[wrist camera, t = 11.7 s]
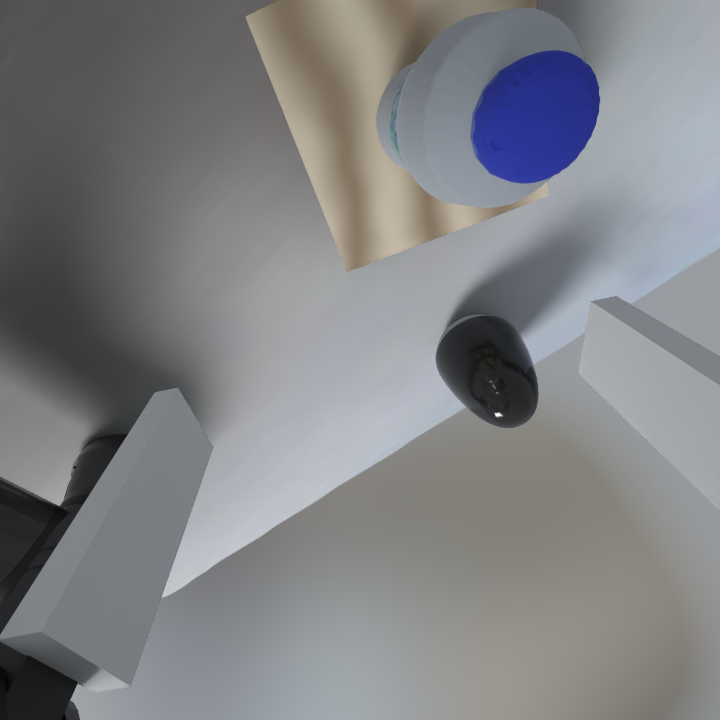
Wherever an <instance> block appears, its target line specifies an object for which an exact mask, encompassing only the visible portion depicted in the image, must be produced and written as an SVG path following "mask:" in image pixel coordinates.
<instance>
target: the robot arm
mask: <svg viewBox="0 0 720 720" xmlns="http://www.w3.org/2000/svg"><path fill="white" fill-rule="evenodd" d="M578 374H580V375H581V376H582V377H583V378H584V379H585V380H586V381H587V382H588V383H589V384H590V385H591V386H592V387H593V388H594V389H595V390H596V391H597V392H598V393H599V394H600V395H601V396H602V397H603V398H604V399H605V400H606V401H607V402H608V403H610V404H611V405H612V406H613V407H614V408H615V409H616V410H617V411H618V412H619V413H620V414H621V415H622V416H623V417H624V418H625V419H626V420H627V421H628V422H629V423H630V424H631V425H632V426H633V427H634V428H635V429H636V430H637V431H638V432H640V434H642V435H643V436H644V437H645V438H646V439H647V440H648V441H649V442H650V443H651V444H652V445H653V446H654V447H655V448H656V449H657V450H658V451H659V452H660V453H661V454H662V455H663V456H664V457H665V458H666V459H667V460H668V461H669V462H670V463H672V465H673V466H675V467H676V468H677V469H678V470H679V471H680V472H681V473H682V474H683V475H684V476H685V477H686V478H687V479H688V480H689V481H690V482H691V483H692V484H693V485H694V486H695V487H696V488H697V489H698V490H699V491H700V492H701V493H702V494H703V495H704V496H706V497H707V498H708V499H709V500H710V501H711V502H712V503H713V504H714V505H715V506H716V507H717V508H718V509H719V510H720V356H718V355H717V354H715V353H713V352H712V351H710V350H708V349H706V348H704V347H703V346H701V345H699V344H698V343H696V342H694V341H693V340H691V339H689V338H687V337H686V336H684V335H682V334H680V333H679V332H677V331H675V330H674V329H672V328H670V327H668V326H667V325H665V324H663V323H661V322H660V321H658V320H656V319H655V318H653V317H651V316H649V315H648V314H646V313H644V312H643V311H641V310H639V309H637V308H636V307H634V306H632V305H630V304H629V303H627V302H625V301H624V300H622V299H620V298H618V297H617V296H615V297H610V298H605V299H600V300H596V301H591V304H590V310H589V316H588V321H587V327H586V333H585V338H584V344H583V351H582V356H581V361H580V367H579V373H578ZM212 450H213V446H212V444H211V442H210V441H209V439H208V437H207V436H206V434H205V432H204V431H203V429H202V427H201V425H200V424H199V422H198V420H197V419H196V417H195V415H194V414H193V412H192V410H191V409H190V407H189V405H188V404H187V402H186V400H185V399H184V397H183V395H182V394H181V392H180V390H179V389H178V388H173V389H168V390H164V391H159V392H155V393H154V394H153V396H152V397H151V399H150V401H149V402H148V404H147V405H146V407H145V408H144V410H143V412H142V413H141V415H140V416H139V418H138V419H137V421H136V423H135V424H134V426H133V427H132V429H131V430H130V432H129V434H128V435H127V436H124V435H117V436H108V437H103V438H100V439H97V440H95V441H93V442H91V443H90V444H88V445H87V446H86V447H85V448H84V450H83V451H82V452H81V454H80V455H79V456H78V458H77V459H76V461H75V462H74V465H73V468H72V472H71V476H72V478H71V480H70V482H69V484H68V487H67V490H66V493H65V497H64V500H63V502H62V503H61V505H60V506H57V505H55V504H54V503H52V502H50V501H48V500H46V499H44V498H42V497H40V496H38V495H36V494H34V493H32V492H30V491H28V490H26V489H24V488H22V487H20V486H18V485H16V484H14V483H12V482H10V481H8V480H6V479H4V478H2V477H0V720H80V718H79V713H78V710H77V708H76V706H75V704H74V703H73V702H72V701H70V699H71V697H72V695H73V693H74V690H75V688H76V686H77V683H78V684H80V685H82V686H84V687H85V688H87V689H89V690H91V691H93V692H95V693H97V692H102V691H108V690H113V689H119V688H125V687H130V686H131V684H132V681H133V678H134V676H135V673H136V670H137V667H138V664H139V661H140V658H141V655H142V652H143V649H144V647H145V644H146V641H147V638H148V635H149V632H150V629H151V626H152V623H153V621H154V617H155V615H156V612H157V609H158V606H159V603H160V600H161V597H162V594H163V592H164V589H165V586H166V583H167V580H168V577H169V574H170V571H171V568H172V565H173V563H174V560H175V557H176V554H177V551H178V548H179V545H180V542H181V539H182V536H183V534H184V531H185V528H186V525H187V522H188V519H189V516H190V513H191V510H192V508H193V505H194V502H195V499H196V496H197V493H198V490H199V487H200V484H201V481H202V479H203V476H204V473H205V470H206V467H207V464H208V461H209V458H210V455H211V452H212Z"/></svg>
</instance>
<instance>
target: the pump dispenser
mask: <svg viewBox="0 0 720 720" xmlns="http://www.w3.org/2000/svg"><path fill="white" fill-rule="evenodd" d="M436 366H437V369H438V371H439V374H440V376H441V377H442V379H443V381H444V382H445V384H446V385H447V386H448V388H449V389H450V390H451V391H452V393H453V394H454V395H455V396H456V397H457V398H458V399H459V400H460V401H461V402H462V403H463V404H464V405H465V406H466V407H467V408H468V409H469V410H470V411H472V412H473V413H474V414H475V415H476V416H478V417H479V418H481V419H482V420H484V421H486V422H488V423H490V424H492V425H495V426H498V427H502V428H514V427H518V426H520V425H522V424H524V423H526V422H527V421H528V420H529V419H530V418H531V417H532V416H533V414H534V413H535V410H536V407H537V403H538V382H537V377H536V373H535V369H534V366H533V362H532V359H531V356H530V354H529V351H528V349H527V347H526V345H525V343H524V341H523V339H522V337H521V336H520V334H519V333H518V331H517V330H516V329H515V328H514V326H513V325H512V324H510V323H509V322H508V321H506V320H504V319H502V318H499V317H496V316H490V315H485V314H474V315H469V316H465V317H463V318H461V319H459V320H457V321H455V322H454V323H453V324H451V325H450V326H449V327H448V328H447V329H446V330H445V332H444V333H443V335H442V337H441V339H440V341H439V344H438V348H437V352H436Z"/></svg>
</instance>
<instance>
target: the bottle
mask: <svg viewBox="0 0 720 720" xmlns="http://www.w3.org/2000/svg"><path fill="white" fill-rule="evenodd" d="M599 103H600V97H599V86H598V83H597V79H596V76H595V74H594V72H593V71H592V69H591V67H590V66H589V65H588V64H586V60H585V56H584V52H583V50H582V48H581V46H580V44H579V42H578V40H577V38H576V36H575V34H574V33H573V32H572V31H571V30H570V29H569V28H568V27H567V26H566V25H565V24H564V23H563V22H562V21H561V20H560V19H558V18H557V17H555V16H553V15H551V14H549V13H547V12H545V11H542V10H538V9H534V8H512V9H507V10H503V11H498V12H487V13H482V14H477V15H472V16H470V17H467V18H465V19H462V20H460V21H458V22H456V23H454V24H453V25H452V26H450V27H449V28H447V29H446V30H444V31H443V32H441V33H440V34H439V35H438V36H437V37H436V38H435V39H434V40H433V41H432V42H431V43H430V44H429V46H428V47H427V48H426V49H425V51H424V52H423V53H422V54H421V55H420V57H419V58H418V59H417V61H416V62H414V63H412V64H410V65H408V66H406V67H404V68H403V69H402V70H400V71H399V72H398V73H397V74H396V75H395V76H394V77H393V78H392V79H391V80H390V82H389V83H388V85H387V86H386V88H385V90H384V92H383V94H382V96H381V99H380V103H379V106H378V110H377V115H376V127H377V132H378V137H379V140H380V143H381V146H382V148H383V150H384V152H385V153H386V155H387V156H388V157H389V159H390V160H391V161H393V162H394V163H395V164H396V165H398V166H399V167H401V168H403V169H404V170H407V171H409V173H410V174H411V175H412V177H413V178H414V179H415V180H416V182H417V183H418V184H419V185H420V186H421V187H422V188H423V189H424V190H425V191H426V192H428V193H429V194H430V195H432V196H433V197H435V198H437V199H439V200H441V201H444V202H447V203H451V204H458V205H468V206H474V207H480V208H493V207H501V206H505V205H509V204H512V203H514V202H517V201H519V200H521V199H523V198H525V197H527V196H528V195H530V194H531V193H533V192H535V191H536V190H537V189H539V188H540V187H541V186H543V185H544V184H545V183H546V182H547V181H548V180H549V179H550V178H551V177H552V176H554V175H555V174H558V173H559V172H561V171H562V170H563V169H565V168H567V167H568V166H569V165H570V164H571V163H572V162H573V161H574V160H575V159H576V158H577V157H578V155H579V154H580V152H581V151H582V150H583V149H584V148H585V146H586V144H587V142H588V140H589V139H590V137H591V135H592V132H593V130H594V128H595V125H596V120H597V116H598V113H599Z"/></svg>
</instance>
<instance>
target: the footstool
mask: <svg viewBox="0 0 720 720" xmlns="http://www.w3.org/2000/svg"><path fill="white" fill-rule="evenodd" d="M512 8H534V9H537V0H278V1H276V2H274V3H272V4H270V5H268V6H266V7H264V8H262V9H260V10H258V11H256V12H254V13H252V14H250V15H248V16H246V20H247V22H248V25H249V27H250V30H251V32H252V35H253V37H254V40H255V42H256V45H257V47H258V50H259V52H260V55H261V57H262V60H263V62H264V65H265V67H266V70H267V72H268V75H269V77H270V80H271V82H272V85H273V87H274V90H275V92H276V95H277V97H278V100H279V102H280V105H281V107H282V110H283V112H284V115H285V117H286V120H287V123H288V125H289V128H290V130H291V133H292V135H293V138H294V140H295V143H296V145H297V148H298V150H299V153H300V155H301V158H302V160H303V163H304V165H305V168H306V170H307V173H308V175H309V178H310V180H311V183H312V185H313V188H314V190H315V193H316V195H317V198H318V200H319V203H320V205H321V208H322V210H323V213H324V215H325V218H326V220H327V223H328V225H329V228H330V230H331V233H332V235H333V238H334V240H335V243H336V245H337V248H338V250H339V253H340V255H341V258H342V260H343V263H344V265H345V268H346V270H347V272H348V271H351V270H354V269H356V268H359V267H361V266H364V265H367V264H369V263H372V262H375V261H377V260H380V259H383V258H385V257H388V256H391V255H393V254H396V253H399V252H401V251H404V250H407V249H409V248H412V247H415V246H417V245H420V244H423V243H425V242H428V241H430V240H433V239H436V238H438V237H441V236H444V235H446V234H449V233H452V232H454V231H457V230H460V229H462V228H465V227H468V226H470V225H473V224H476V223H478V222H481V221H484V220H486V219H489V218H492V217H494V216H497V215H499V214H502V213H505V212H507V211H510V210H513V209H515V208H518V207H521V206H523V205H526V204H529V203H531V202H534V201H537V200H539V199H542V198H545V197H547V196H548V181H547V182H546V183H545V184H544V185H543V186H541V187H540V188H539V189H537V190H536V191H535V192H533V193H531V194H530V195H528V196H527V197H525V198H523V199H521V200H519V201H517V202H514V203H512V204H509V205H505V206H501V207H493V208H480V207H474V206H468V205H458V204H451V203H447V202H444V201H441V200H439V199H437V198H435V197H433V196H432V195H430V194H429V193H428V192H426V191H425V190H424V189H423V188H422V187H421V186H420V185H419V184H418V183H417V182H416V180H415V179H414V178H413V177H412V175H411V174H410V173H409V171H407V170H404V169H403V168H401V167H399V166H398V165H396V164H395V163H394V162H393V161H391V160H390V159H389V157H388V156H387V155H386V153H385V152H384V150H383V148H382V146H381V143H380V140H379V137H378V132H377V127H376V115H377V110H378V106H379V103H380V99H381V96H382V94H383V92H384V90H385V88H386V86H387V85H388V83H389V82H390V80H391V79H392V78H393V77H394V76H395V75H396V74H397V73H398V72H399V71H400V70H402V69H403V68H404V67H406V66H408V65H410V64H412V63H414V62H416V61H417V59H418V58H419V57H420V55H421V54H422V53H423V52H424V51H425V49H426V48H427V47H428V46H429V44H430V43H431V42H432V41H433V40H434V39H435V38H436V37H437V36H438V35H439V34H440V33H441V32H443V31H444V30H446V29H447V28H449V27H450V26H452V25H453V24H454V23H456V22H458V21H460V20H462V19H465V18H467V17H470V16H472V15H477V14H482V13H487V12H498V11H503V10H507V9H512Z"/></svg>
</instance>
